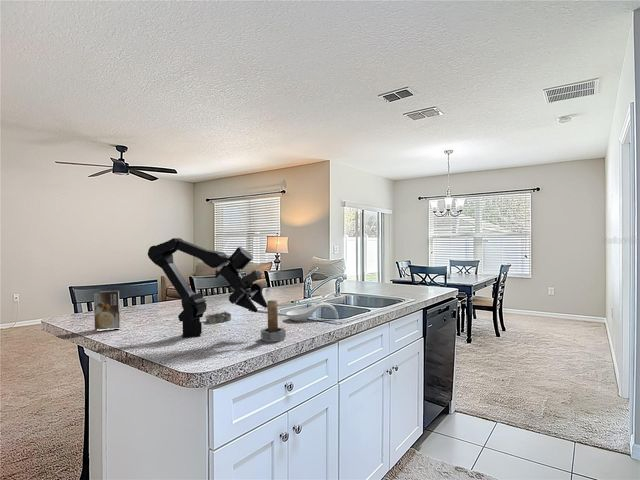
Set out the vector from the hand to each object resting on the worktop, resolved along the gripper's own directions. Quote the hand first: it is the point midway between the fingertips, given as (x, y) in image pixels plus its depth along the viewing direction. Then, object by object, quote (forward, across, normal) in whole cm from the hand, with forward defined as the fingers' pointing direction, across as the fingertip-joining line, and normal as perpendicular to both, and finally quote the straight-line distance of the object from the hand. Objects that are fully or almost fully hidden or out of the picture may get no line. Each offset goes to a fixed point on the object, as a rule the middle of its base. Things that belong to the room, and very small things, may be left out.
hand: (261, 309), depth 138 cm
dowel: (+10, 0, +4) cm, 11 cm away
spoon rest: (+14, +37, +1) cm, 39 cm away
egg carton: (-15, +27, +31) cm, 44 cm away
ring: (+11, 0, +4) cm, 11 cm away
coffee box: (-41, +3, +58) cm, 71 cm away
